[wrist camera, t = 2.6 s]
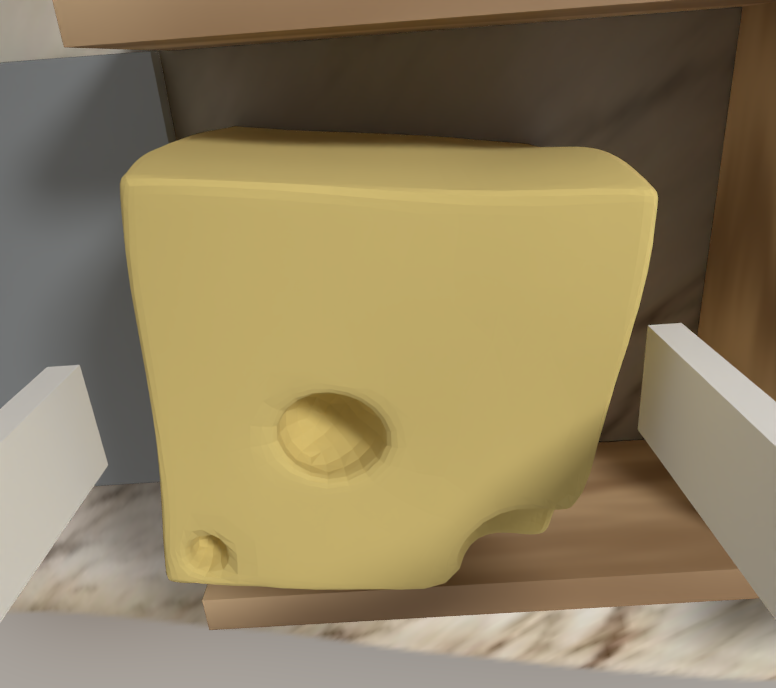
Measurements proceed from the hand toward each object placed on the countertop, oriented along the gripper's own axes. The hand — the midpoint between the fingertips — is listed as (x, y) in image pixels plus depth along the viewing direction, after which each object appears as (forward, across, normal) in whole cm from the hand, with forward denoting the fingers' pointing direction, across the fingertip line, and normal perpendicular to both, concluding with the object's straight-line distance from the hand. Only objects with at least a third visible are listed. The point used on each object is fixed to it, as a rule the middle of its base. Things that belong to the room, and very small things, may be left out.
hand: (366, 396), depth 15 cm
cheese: (+8, 0, 0) cm, 9 cm away
